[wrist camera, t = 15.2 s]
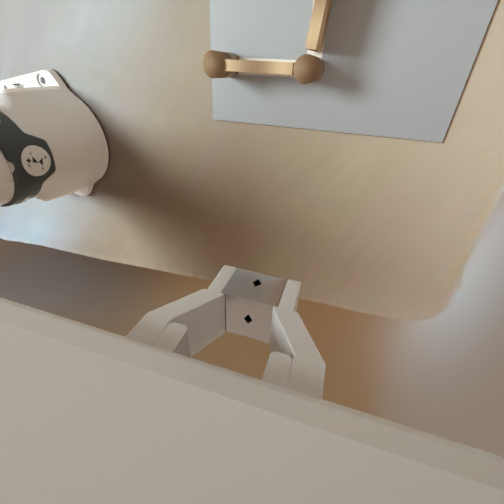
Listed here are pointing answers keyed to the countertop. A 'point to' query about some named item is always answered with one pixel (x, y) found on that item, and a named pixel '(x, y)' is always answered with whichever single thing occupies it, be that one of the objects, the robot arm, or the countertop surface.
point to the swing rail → (318, 25)
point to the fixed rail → (262, 66)
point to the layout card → (351, 64)
